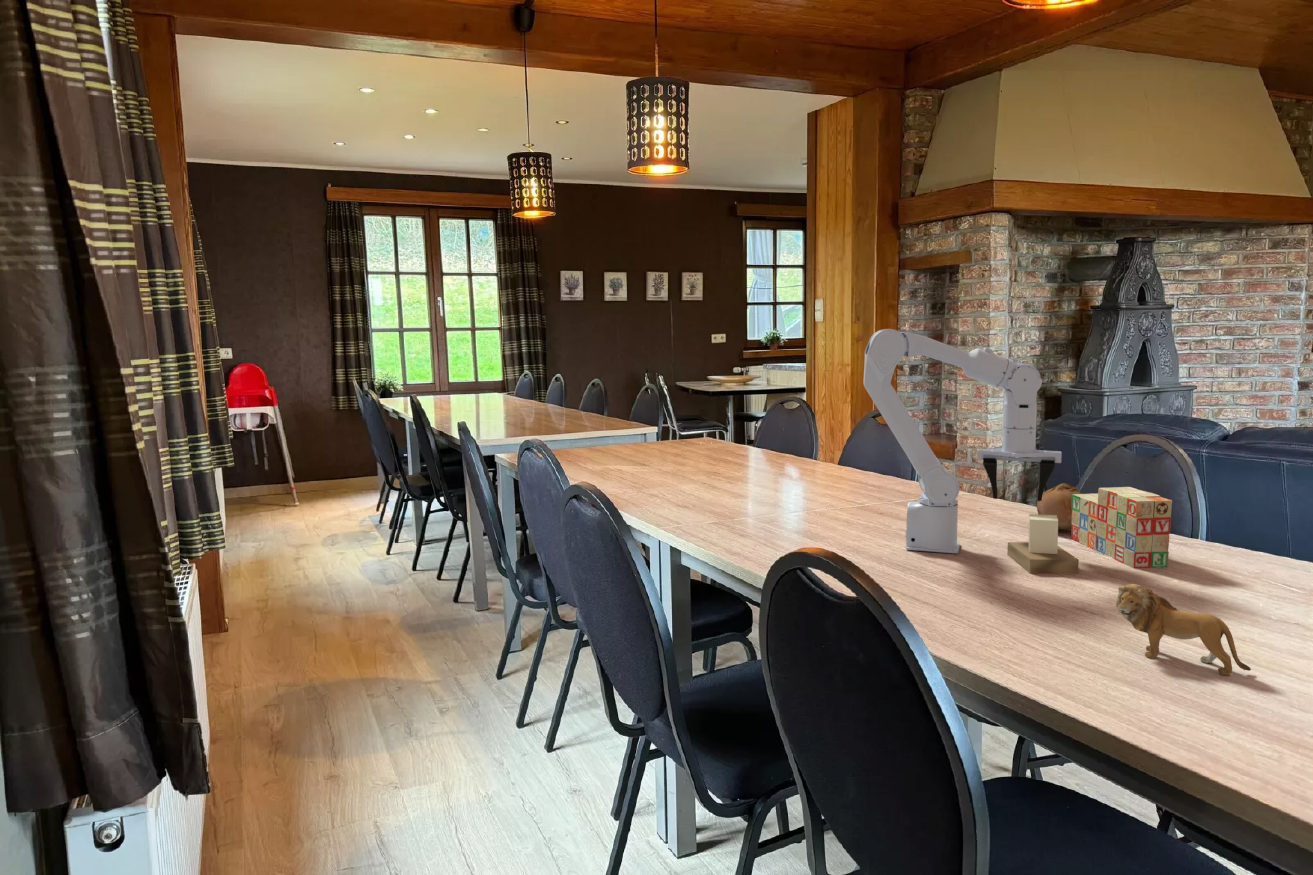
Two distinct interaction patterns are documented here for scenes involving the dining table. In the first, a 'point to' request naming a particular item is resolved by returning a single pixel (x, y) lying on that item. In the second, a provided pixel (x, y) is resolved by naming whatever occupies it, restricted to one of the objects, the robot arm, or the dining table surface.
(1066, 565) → the tan block
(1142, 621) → the lion figurine
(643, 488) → the dining table surface
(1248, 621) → the dining table surface
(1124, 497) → the stack of blocks
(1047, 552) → the cream block
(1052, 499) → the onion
